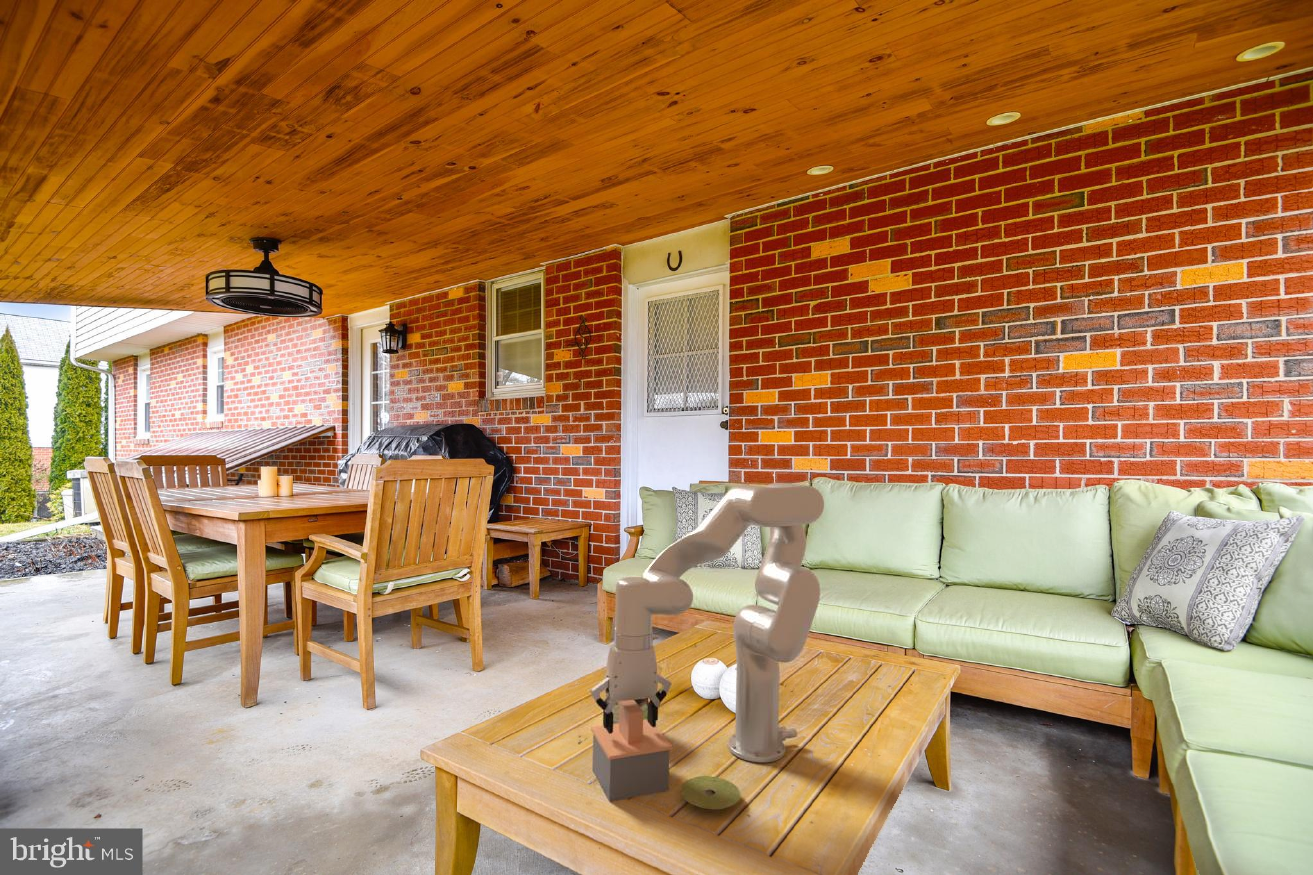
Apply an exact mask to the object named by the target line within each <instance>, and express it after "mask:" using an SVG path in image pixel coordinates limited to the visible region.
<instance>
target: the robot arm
mask: <svg viewBox="0 0 1313 875" xmlns="http://www.w3.org/2000/svg"><path fill="white" fill-rule="evenodd" d="M824 509H825V500H824V497H823V495H822V494H821V492H820V491H819V489H817V488H816V487H814V486H812V485H808V484H798V483H785V482H773V483H769V484H767V485H765V486H761V485H760V486H759V485H750V484H749V485H748V484H739V485H738V484H737V485H735V486H733V487H731V488H730V489H729V490H728V491H727V492H726V493H725V494H724V495H723V497H722V498H720V500H718V502H717V503H716V505H715V506H714V507H713V508H712V509H711V511H710V512H709V513H708V514H707V515H706V516H705V517H704V519H703V520H702V521H701V522H700V523H699V524H698V526H696V528H694V529H693V531H691V532H689V533H688V534H685V535H684V536H683V537H681V538H680V539H678V540H676V541H675V542H674V543H673V542H672V543H671V544H670V545H669V546H667V547H666V548H665V549H664V550H662V552H660V553H659V554H658V555H657V556H656V558H655V559H654V560H653V561H652V562H651V563H650V565H649V566H648V567H647V568H646V569H645V571H644V572H643V573H642V575H641V576H627V577H622V578H620V579H618V581H617V582H616V585H615V607H614V609H615V610H614V611H615V612H614V613H615V614H614V636H613V637H614V642H613V643H614V644H613V645H610V647H609V650H608V655H607V658H606V659H607V662H606V667H605V676H604V679H603V680H602V681H600V682H599V683H598V684H596V685H595V686H593V687H592V688H591V689H590V690H589V693H590V695H591V696H592V699H593V700H594V702H595V703H596V704H597V706H598V707H600V708H601V709H602V710H603V713H602V715H603V716H602V717H603V718H602V726H604V728H606V730H607V731H608V733H609V734H612V733H613V712H612V709H613V707H614V706H615V704H616V703H617V701H627V700H635V699H642V698H648V700H649V701H648V713H647V721H648V723H649V724H650V725H651V726H652V727H656V728H657V722H658V720H659V707H660V706H661V704H662V702H663V700H664V699H665V698H666V697H667V695H668V692H669V690H670V689H671V687H672V685H673V684H672V682H671V681H670V680H669V679H667V678H665V677H664V676H662V675H660V674H658V663H657V657H656V654H657V653H656V649H655V646H654V644H653V641H655V640H658V639H659V633H658V632H654V631H653V615H660V616H661V615H662V616H679V615H682V614H683V613H686V612H687V611H688V610H689V609H690V608H691V606H692V605H693V602H694V592H693V589H692V587H691V586H690V585H689V584H688V582H686V581H685V580H684V579H682V578H681V577H682V576H683V575H684V574H685V573H687V572H688V571H690V569H692V568H694V567H696V566H698V565H702V564H705V563H709V562H713V561H716V560H719V559H722V558H723V557H725V556H726V555H727V554H728V553H729V552H730V550H731V549H732V548H733V547H734V545H735V544H737V542H738V541H739V540H740V539H741V537H742V536H743V535H744V533H745V532H746V531H747V530H748V529H749V528H750V526H756V527H761V528H762V527H763V528H769V538H768V542H767V543H768V544H767V546H766V549H765V551H764V552H765V553H764V555H763V557H762V560H761V563H760V567H759V569H758V570H757V574H756V578H755V582H754V590H755V592H756V594H757V595H758V597H760V598H761V599H762V600H764V601H766V602H768V603H771V604H773V605H776V606H777V608H776V610H773V609H771V608H768V607H766V606H763V605H758V604H747V605H745V606H743V607H742V608H741V609H740V610H739V611H738V612H737V614H736V615H735V617H734V620H733V627H732V628H733V630H732V632H733V639H734V645H735V646H734V647H735V652H736V653H735V654H736V677H735V678H736V681H735V682H736V685H735V686H736V688H735V731H734V732H735V733H734V734H733V735H731V736H730V737H729V738H728V740H727V742H728V744H727V746H728V749H729V751H730V752H731V754H732V755H734V756H735V757H737V758H739V759H742V760H745V761H749V762H753V763H763V764H764V763H770V762H771V763H772V762H777V761H778V760H780V759H782V758H783V757H784V756H785V754H786V746H785V744H784V741H786V740H787V739H794V738H797V737H798V731H797V729H796V727H795V728H786V726H785V725H779V722H780V720H779V714H780V678H781V675H780V673H781V672H780V663H782V664H783V663H785V664H786V663H791V662H793V661H794V660H796V659H797V658H798V656H800V654H801V652H802V651H803V649H804V648H805V645H806V642H807V640H808V637H809V633H810V632H811V628H812V626H813V622H814V618H815V615H816V612H817V609H818V606H819V604H820V599H821V598H820V597H821V587H820V582H819V579H818V577H817V576H816V575H815V574H814V572H812V571H811V570H810V569H808V568H805V567H802V564H803V560H804V557H805V554H806V548H807V535H806V531H805V528H804V525H809V524H810V525H811V524H812V523H815V522H816V521H817V520H818V519H820V517H821V516H822V514H823V512H824ZM658 683H659V684H660V685H661V686H660V688H659V689H658ZM603 691H604V692H605V694H606V693H607V694H608V695H607V697H606V696H605V698H604V699H603V698H602V697H601V693H602V692H603Z"/></svg>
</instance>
